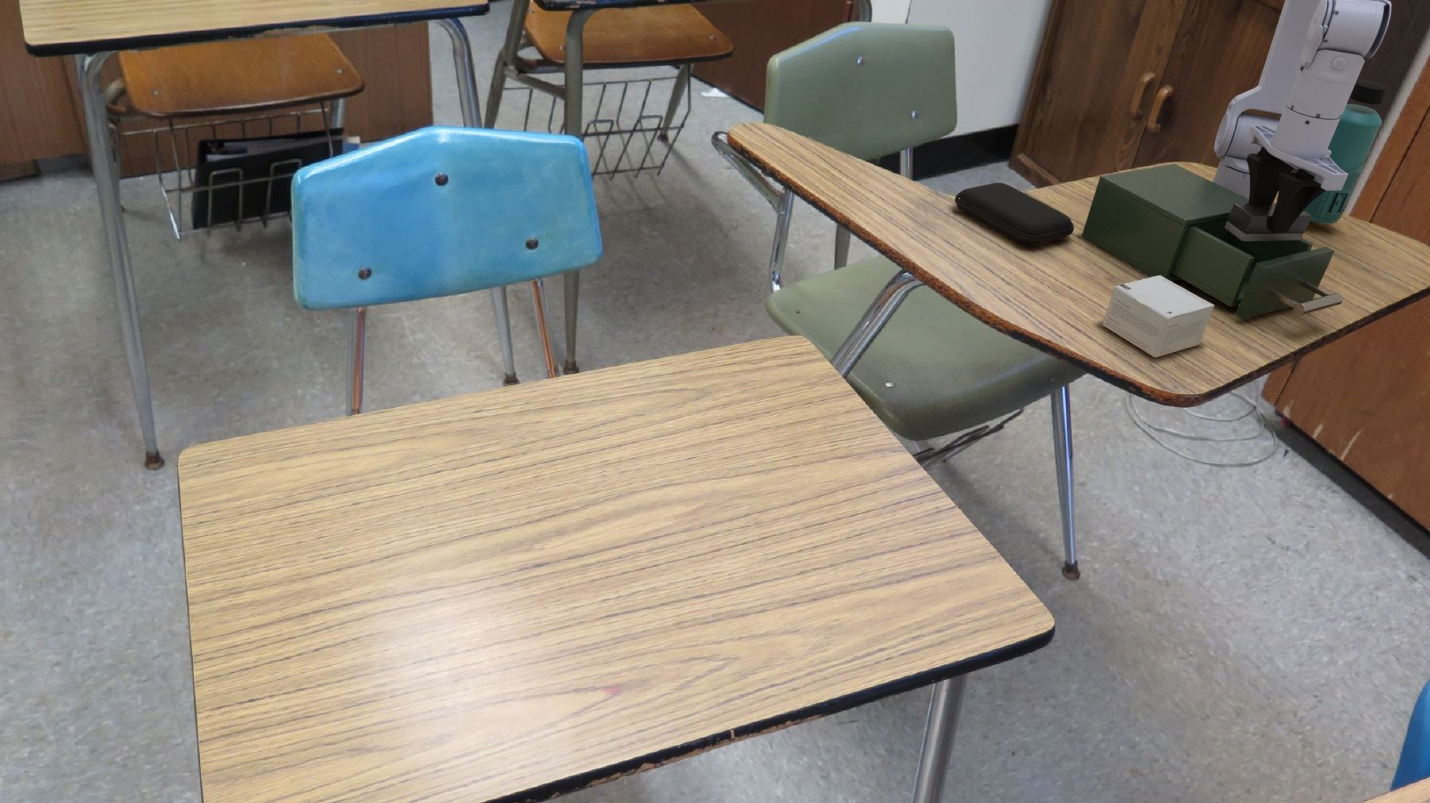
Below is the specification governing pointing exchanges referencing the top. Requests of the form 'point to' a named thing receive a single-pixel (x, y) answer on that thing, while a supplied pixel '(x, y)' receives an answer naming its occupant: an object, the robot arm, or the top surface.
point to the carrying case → (1014, 214)
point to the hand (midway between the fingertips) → (1266, 223)
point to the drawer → (1254, 270)
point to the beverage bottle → (1350, 149)
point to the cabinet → (1153, 214)
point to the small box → (1157, 315)
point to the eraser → (1262, 223)
